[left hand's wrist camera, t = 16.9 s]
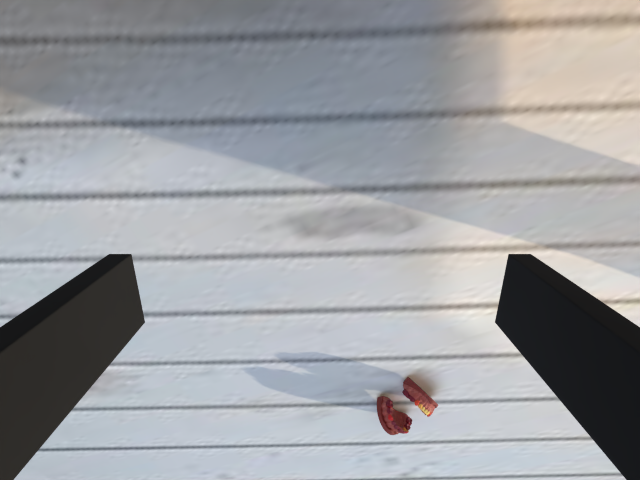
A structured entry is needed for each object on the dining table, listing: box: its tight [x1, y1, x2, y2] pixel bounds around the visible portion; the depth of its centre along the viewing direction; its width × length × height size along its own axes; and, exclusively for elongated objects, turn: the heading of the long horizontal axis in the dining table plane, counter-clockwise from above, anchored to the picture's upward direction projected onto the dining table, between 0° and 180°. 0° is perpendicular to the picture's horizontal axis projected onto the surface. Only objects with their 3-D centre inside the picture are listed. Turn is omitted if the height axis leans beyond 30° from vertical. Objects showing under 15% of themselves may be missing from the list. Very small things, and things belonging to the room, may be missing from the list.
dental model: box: [377, 377, 438, 435], centre depth 48 cm, size 6×4×8 cm
